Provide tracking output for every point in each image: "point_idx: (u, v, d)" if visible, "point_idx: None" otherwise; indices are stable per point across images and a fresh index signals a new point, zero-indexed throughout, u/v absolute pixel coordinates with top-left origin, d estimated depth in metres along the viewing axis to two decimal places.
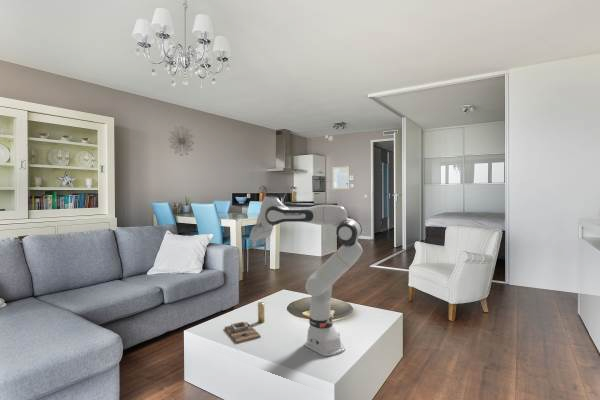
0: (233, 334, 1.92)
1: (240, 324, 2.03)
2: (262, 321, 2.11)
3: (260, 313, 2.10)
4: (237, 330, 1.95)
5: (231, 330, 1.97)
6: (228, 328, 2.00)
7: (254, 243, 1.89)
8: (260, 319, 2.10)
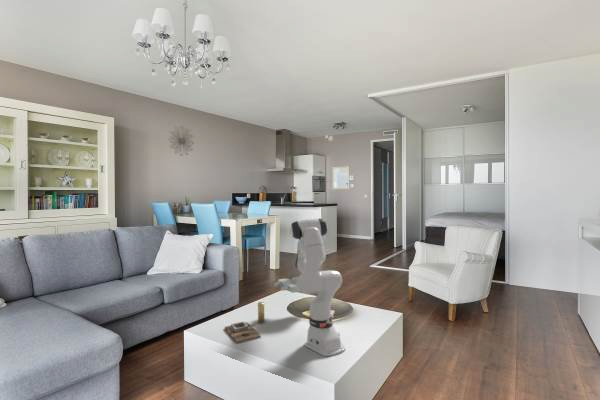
0: (233, 334, 1.92)
1: (240, 324, 2.03)
2: (262, 321, 2.11)
3: (260, 313, 2.10)
4: (237, 330, 1.95)
5: (231, 330, 1.97)
6: (228, 328, 2.00)
7: None
8: (260, 319, 2.10)
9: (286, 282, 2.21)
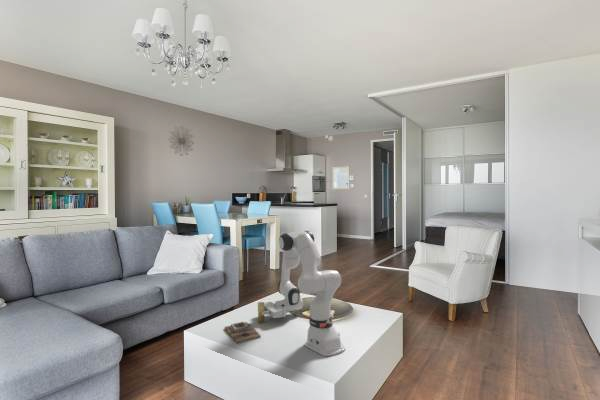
0: (233, 334, 1.92)
1: (240, 324, 2.03)
2: (262, 321, 2.11)
3: (260, 313, 2.10)
4: (237, 330, 1.95)
5: (231, 330, 1.97)
6: (228, 328, 2.00)
7: None
8: (260, 319, 2.10)
9: (269, 306, 2.15)
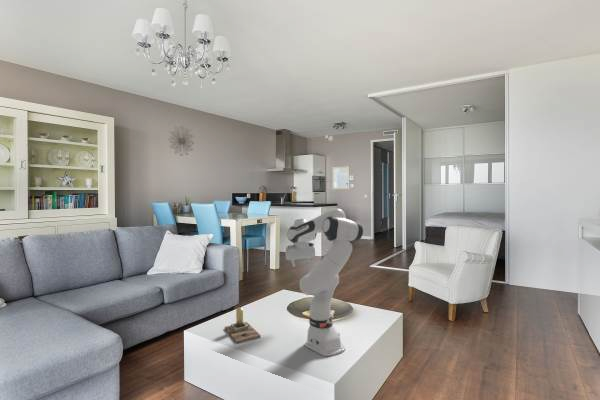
0: (233, 334, 1.92)
1: None
2: None
3: (238, 319, 1.98)
4: (237, 330, 1.95)
5: (231, 330, 1.97)
6: (228, 328, 2.00)
7: (293, 263, 2.14)
8: (238, 325, 1.98)
9: (301, 255, 2.15)
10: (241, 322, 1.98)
